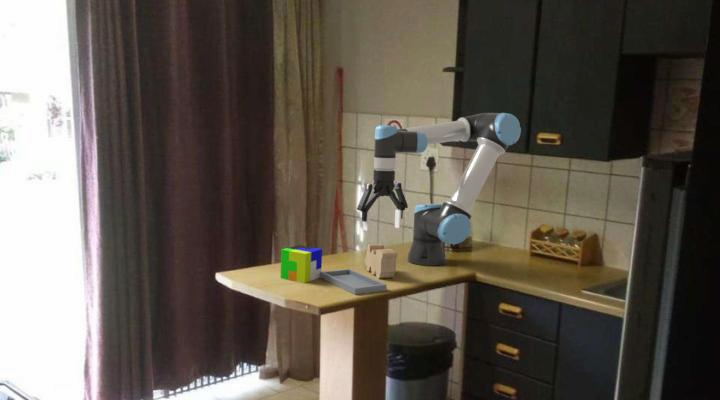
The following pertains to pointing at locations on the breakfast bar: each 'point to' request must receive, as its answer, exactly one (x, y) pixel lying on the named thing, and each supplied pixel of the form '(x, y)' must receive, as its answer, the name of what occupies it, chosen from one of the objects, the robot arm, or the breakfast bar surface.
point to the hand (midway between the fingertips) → (382, 229)
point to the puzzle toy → (301, 263)
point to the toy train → (381, 261)
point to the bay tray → (353, 281)
